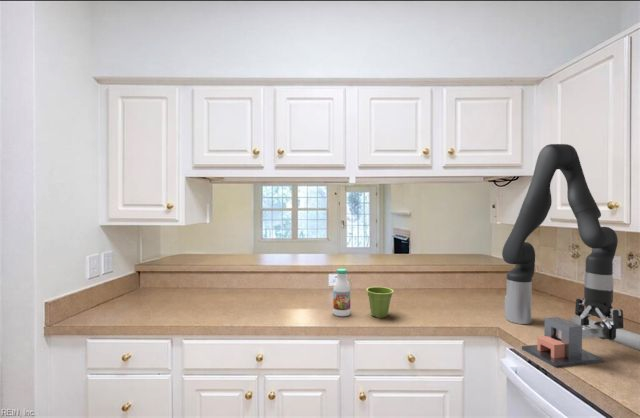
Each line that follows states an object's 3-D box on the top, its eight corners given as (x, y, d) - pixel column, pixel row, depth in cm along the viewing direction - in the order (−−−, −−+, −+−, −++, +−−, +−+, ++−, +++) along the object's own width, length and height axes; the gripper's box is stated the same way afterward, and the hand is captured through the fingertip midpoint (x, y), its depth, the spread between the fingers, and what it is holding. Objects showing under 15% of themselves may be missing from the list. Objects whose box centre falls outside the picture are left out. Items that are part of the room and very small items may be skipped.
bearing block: (521, 349, 116) (522, 317, 116) (566, 344, 120) (566, 314, 119) (555, 367, 103) (555, 331, 103) (603, 361, 107) (604, 327, 107)
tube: (566, 316, 138) (638, 340, 114) (575, 311, 139) (649, 333, 115) (569, 329, 138) (642, 354, 114) (579, 323, 140) (652, 348, 116)
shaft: (552, 339, 114) (552, 322, 114) (596, 335, 118) (596, 319, 118) (567, 346, 109) (567, 328, 108) (613, 341, 112) (613, 324, 112)
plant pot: (374, 321, 143) (375, 294, 143) (361, 312, 154) (361, 288, 154) (398, 317, 147) (398, 291, 147) (383, 309, 158) (384, 285, 158)
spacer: (537, 349, 113) (537, 337, 113) (547, 348, 114) (547, 336, 114) (554, 358, 107) (554, 345, 107) (564, 357, 108) (564, 343, 108)
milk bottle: (330, 312, 155) (330, 268, 154) (346, 310, 157) (346, 267, 157) (337, 317, 148) (337, 271, 147) (353, 315, 150) (353, 270, 150)
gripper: (569, 282, 120) (568, 327, 121) (611, 292, 106) (610, 344, 107) (587, 281, 122) (586, 326, 122) (630, 291, 108) (629, 342, 108)
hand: (597, 334), depth 114 cm, fingers open, 8 cm apart
